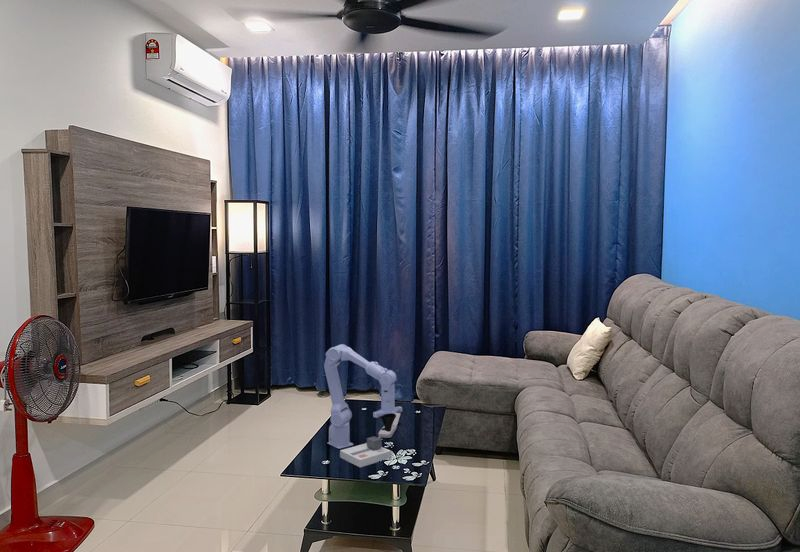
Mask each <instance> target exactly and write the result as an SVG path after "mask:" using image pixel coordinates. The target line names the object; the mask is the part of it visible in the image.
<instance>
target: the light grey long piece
mask: <svg viewBox="0 0 800 552" xmlns="http://www.w3.org/2000/svg"><path fill="white" fill-rule="evenodd" d="M394 414H396V418H395V419H394V421H393V424H392V428H391V431H389V432H387V431H385V427H384V426H383V427H381V429H380V430H379V431H378V434H377V435H378V436H377V438H380V439H382V438H384V439H388V438H389V439H390V438H392V437H393V435H394V433H395V432H396V430H397V428H398V423H399V422H400V421H399V420H400V417H401V412H396V413H394Z"/></svg>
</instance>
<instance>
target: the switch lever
mask: <svg viewBox="0 0 800 552" xmlns="http://www.w3.org/2000/svg"><path fill="white" fill-rule="evenodd" d="M366 443H367V447H369V448H371V449H374V450H375V449H378V448H382V447H383V446H382V444H383V443H382V438H378V436H370V437H366Z"/></svg>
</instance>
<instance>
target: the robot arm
mask: <svg viewBox="0 0 800 552" xmlns="http://www.w3.org/2000/svg"><path fill="white" fill-rule="evenodd" d="M344 361H350V362H352V363H353V364H356V365H358V366H359V367H362V368H363V369H365V373H366V374H367V375H369V376H371V377H373V378H374V379H375V380H376V381H378V382H379V384H380V386H381V388H380V389H381V392H380V393H381V394H380V395H381V398H380V399H381V401H380V402H381V404H380V407H381V408H380V409H378V410H376V411H373V412H372V416H373V418H376V419H377V418H380V419H381V421H382V423H383V427H385V431H387V432H389V431H391V428H392V424H393V421H394V419H395V418H396V414H394V413H401V412H403V407H402V406H400V405H399V406H395V404H396V403H395V402H396V401H395V398H396V397H395V396H396V395H395V393H396V392H395V391H396V389H395V387H396V385H395V382H396V381H397V373H396V372H395V371H394V370H392V369H388V368H387V367H383V366H381V365H380V364H379V362H377V361H369V360H367V359H366V358H364V357H363V356H361V355H360V354H358V352H356V351H354V350H353V349H352V348H351V347H350V346H347V345H346V344H343V343H340V344H338V345H336V346H333V347H330V348H329V349H327V351H326V352H325V360H324V364H323V367H324V371H325V377H326V382H327V386H328V391H329V394H330V395H329V396H330V400H331V404H332V405H331V409H330V425H329V426H328V442H327V444H328V445H330V446H332V447H334V448H336V449H339V450H342V449H346V448H349V447H351V446H352V447H353V446H354V443H353V442H351V441H350V435H351V434H350V421H351V419H352V417H353V414H352V413H353V412H352V411H351V409H350V408H349V404H347V402H346V401H345V398H344V394H343V389H342V385H341V379H340V375H339V371H338V366H339V365H340V363H341V362H344Z"/></svg>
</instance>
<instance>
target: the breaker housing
mask: <svg viewBox="0 0 800 552" xmlns="http://www.w3.org/2000/svg"><path fill="white" fill-rule="evenodd" d="M339 458H340V459H342V460H343V461H346V462H348V463H350V464H353V465H354V466H357V467H358V468H363V467H366V466H370V465H372V464H377V463H379V461H380V462H382V460H383V461H386V460H389V459H391V458H392V450H391V449H388V448H385V447H383V446H382V448H378V449H375V450H374V449H371V448H369V447H367V442H365V443H362V444H359V445H355V446H354V445H353V446H352V447H351V446H350V447H346V448H342V449H339ZM388 458H389V459H388ZM385 459H386V460H385Z"/></svg>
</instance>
